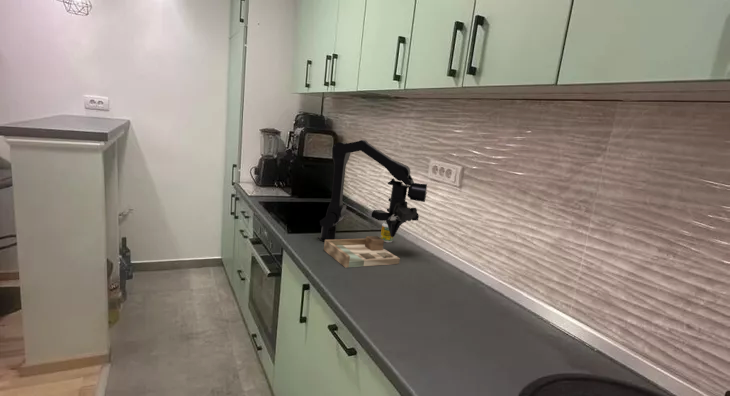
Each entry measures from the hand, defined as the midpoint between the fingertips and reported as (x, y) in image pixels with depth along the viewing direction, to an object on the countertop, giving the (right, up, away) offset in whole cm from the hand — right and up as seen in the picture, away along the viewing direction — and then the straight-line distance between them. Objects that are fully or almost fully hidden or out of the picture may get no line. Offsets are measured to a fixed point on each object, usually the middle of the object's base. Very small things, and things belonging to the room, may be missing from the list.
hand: (392, 236), depth 157 cm
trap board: (-12, -7, -9) cm, 17 cm away
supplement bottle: (-2, -4, +17) cm, 17 cm away
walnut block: (-7, -4, -3) cm, 9 cm away
